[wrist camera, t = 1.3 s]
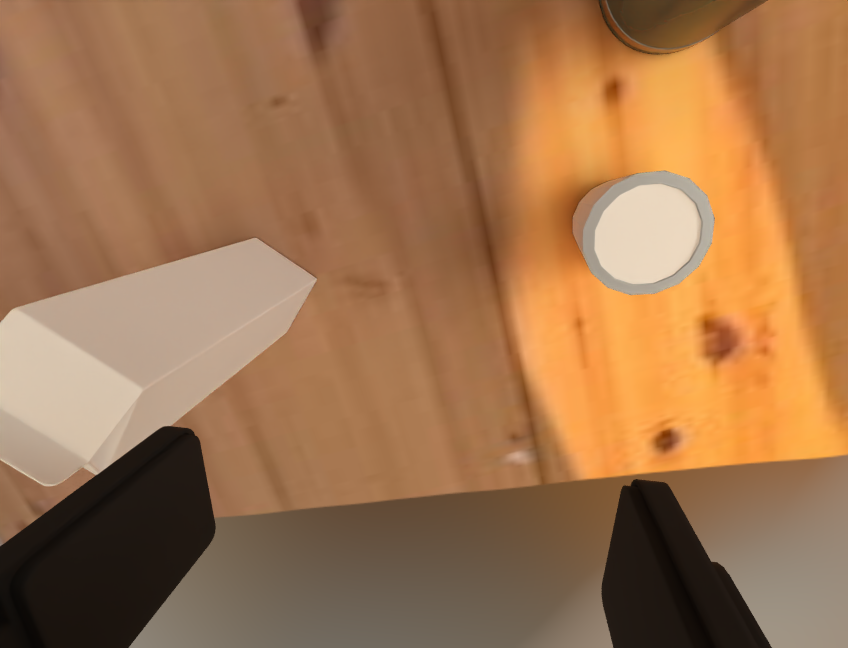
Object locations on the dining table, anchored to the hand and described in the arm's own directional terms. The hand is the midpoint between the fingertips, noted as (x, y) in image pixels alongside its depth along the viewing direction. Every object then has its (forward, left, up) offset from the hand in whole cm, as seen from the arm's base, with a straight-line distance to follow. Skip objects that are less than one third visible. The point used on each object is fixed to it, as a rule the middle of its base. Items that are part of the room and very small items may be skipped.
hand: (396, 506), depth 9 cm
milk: (-11, -12, -25) cm, 30 cm away
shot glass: (+6, +9, -25) cm, 28 cm away
